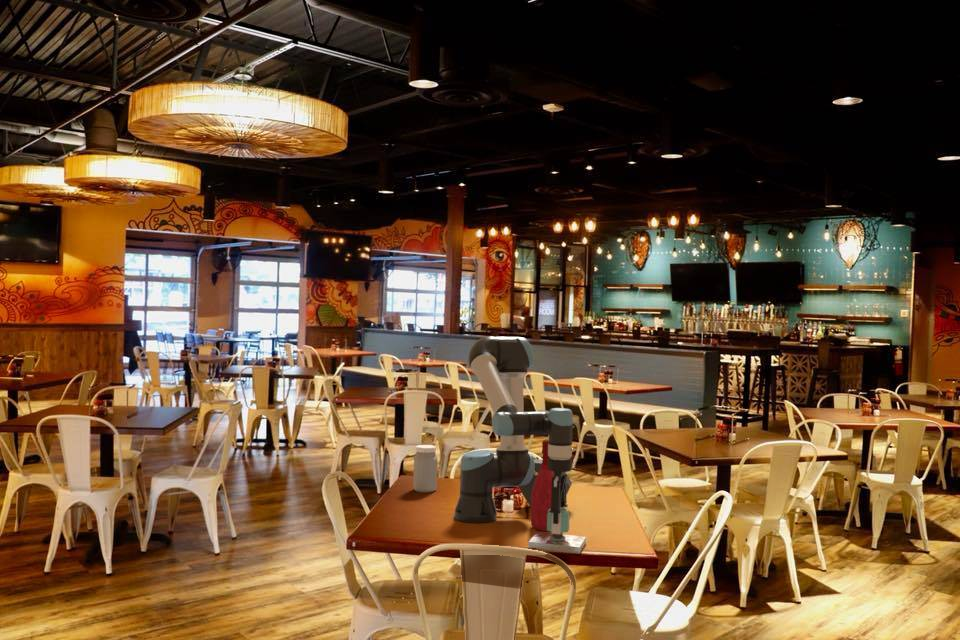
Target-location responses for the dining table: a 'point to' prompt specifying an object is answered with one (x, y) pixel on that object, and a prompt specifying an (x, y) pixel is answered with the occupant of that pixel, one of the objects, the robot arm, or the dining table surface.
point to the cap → (564, 520)
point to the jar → (425, 469)
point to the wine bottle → (542, 493)
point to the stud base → (557, 542)
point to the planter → (528, 488)
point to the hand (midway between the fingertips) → (558, 530)
